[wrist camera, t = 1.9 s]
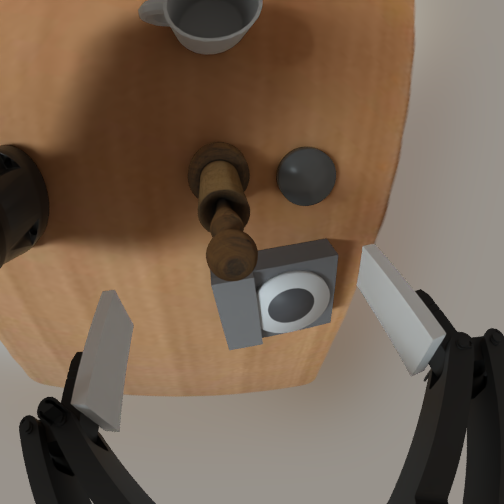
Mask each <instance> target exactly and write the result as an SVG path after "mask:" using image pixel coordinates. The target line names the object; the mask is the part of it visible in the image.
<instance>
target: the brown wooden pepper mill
mask: <svg viewBox="0 0 504 504" xmlns="http://www.w3.org/2000/svg"><path fill="white" fill-rule="evenodd" d="M188 182H189V186H190V188H191V190H192V192H193V194H194V195H195V196H196V197H197V198H198V199H199V203H198V217H199V221H200V223H201V224H202V226H203V227H204V228H205V229H206V230H207V231H209V232H210V233H211V235H212V237H213V238H212V240H211V241H210V243H209V245H208V247H207V251H206V259H207V263H208V266H209V268H210V270H211V271H212V272H213V273H214V274H215V275H216V276H217V277H218V278H220V279H222V280H225V281H239V280H242V279H244V278H246V277H247V276H249V275H250V274H251V273H252V271H253V270H254V268H255V266H256V264H257V260H258V250H257V247H256V244H255V242H254V241H253V239H252V238H251V237H250V236H249V235H248V234H246V233H245V232H243V230H244V227H245V226H246V224H247V222H248V220H249V217H250V208H249V204H248V202H247V199H246V196H245V194H244V191H245V190H246V188H247V186H248V183H249V168H248V165H247V162H246V160H245V158H244V156H243V155H242V153H241V152H240V151H239V150H238V149H237V148H235V147H234V146H232V145H230V144H227V143H221V142H217V143H211V144H208V145H206V146H204V147H202V148H201V149H200V150H199V151H198V152H197V153H196V154H195V155H194V157H193V158H192V160H191V163H190V166H189V171H188Z"/></svg>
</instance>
